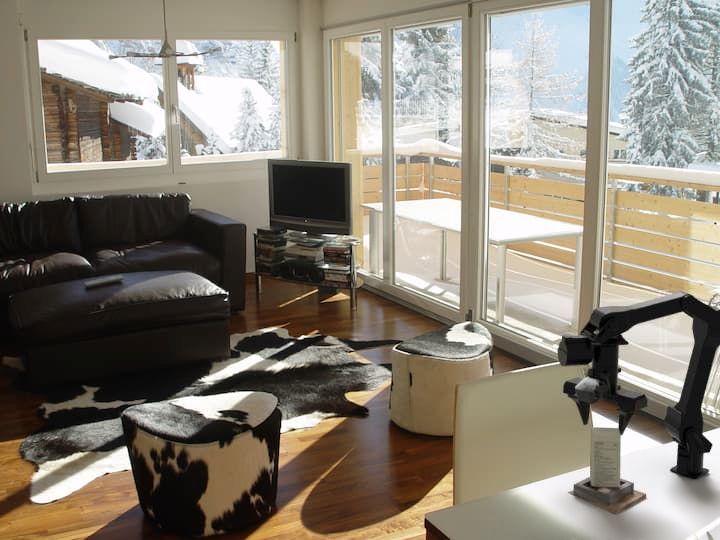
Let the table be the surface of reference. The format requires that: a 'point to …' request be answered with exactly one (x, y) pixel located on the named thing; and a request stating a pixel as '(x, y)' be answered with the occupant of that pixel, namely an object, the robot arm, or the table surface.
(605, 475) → the skincare box
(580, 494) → the holder
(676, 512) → the table surface
